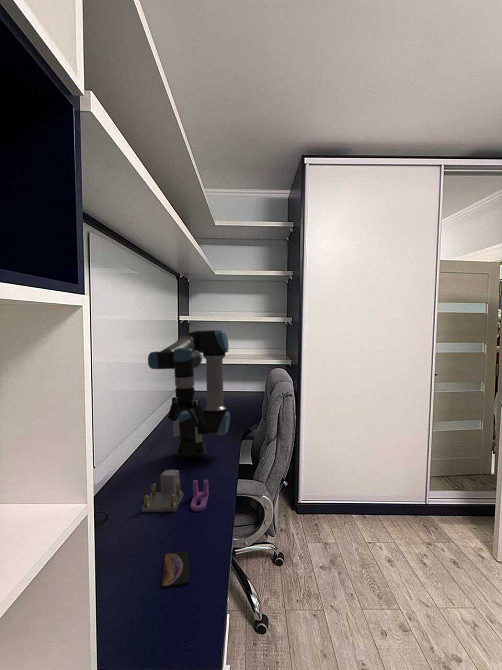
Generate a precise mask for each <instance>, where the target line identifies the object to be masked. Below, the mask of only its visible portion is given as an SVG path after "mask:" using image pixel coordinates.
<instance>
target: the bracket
mask: <svg viewBox="0 0 502 670" xmlns="http://www.w3.org/2000/svg"><path fill="white" fill-rule="evenodd" d="M202 484H203V491H199V482H198V479H195V480H193V481H192V492H193V493H192V495H193V496H192V500H191V503H190V509H191V511H193V512H200V511H203V510H205V509H206V507H207V503H208V498H209V494H210V493H209V479H203V483H202ZM199 502H200V504H199V505H198V503H199Z"/></svg>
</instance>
